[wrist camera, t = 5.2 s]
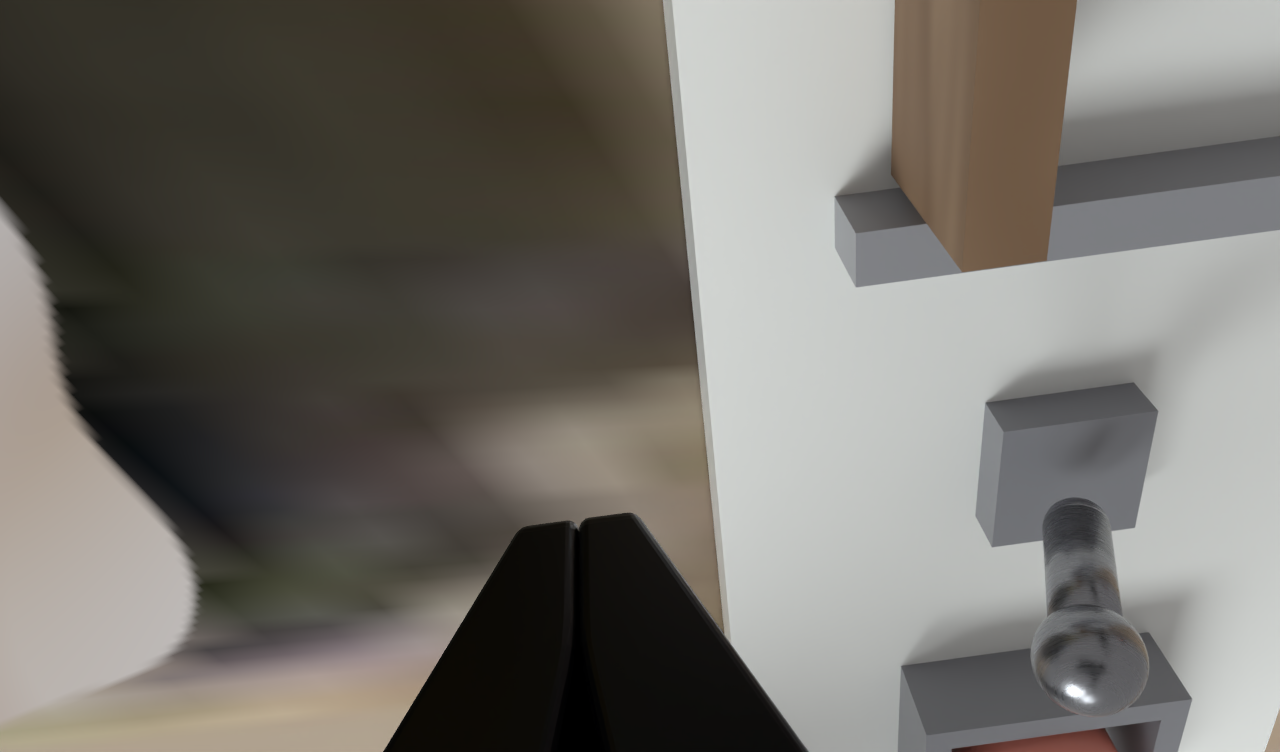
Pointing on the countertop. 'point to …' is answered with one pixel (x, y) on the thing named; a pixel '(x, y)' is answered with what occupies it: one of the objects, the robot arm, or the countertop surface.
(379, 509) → the countertop surface
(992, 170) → the paddle
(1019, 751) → the push button
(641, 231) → the countertop surface
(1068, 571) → the toggle lever
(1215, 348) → the control panel
